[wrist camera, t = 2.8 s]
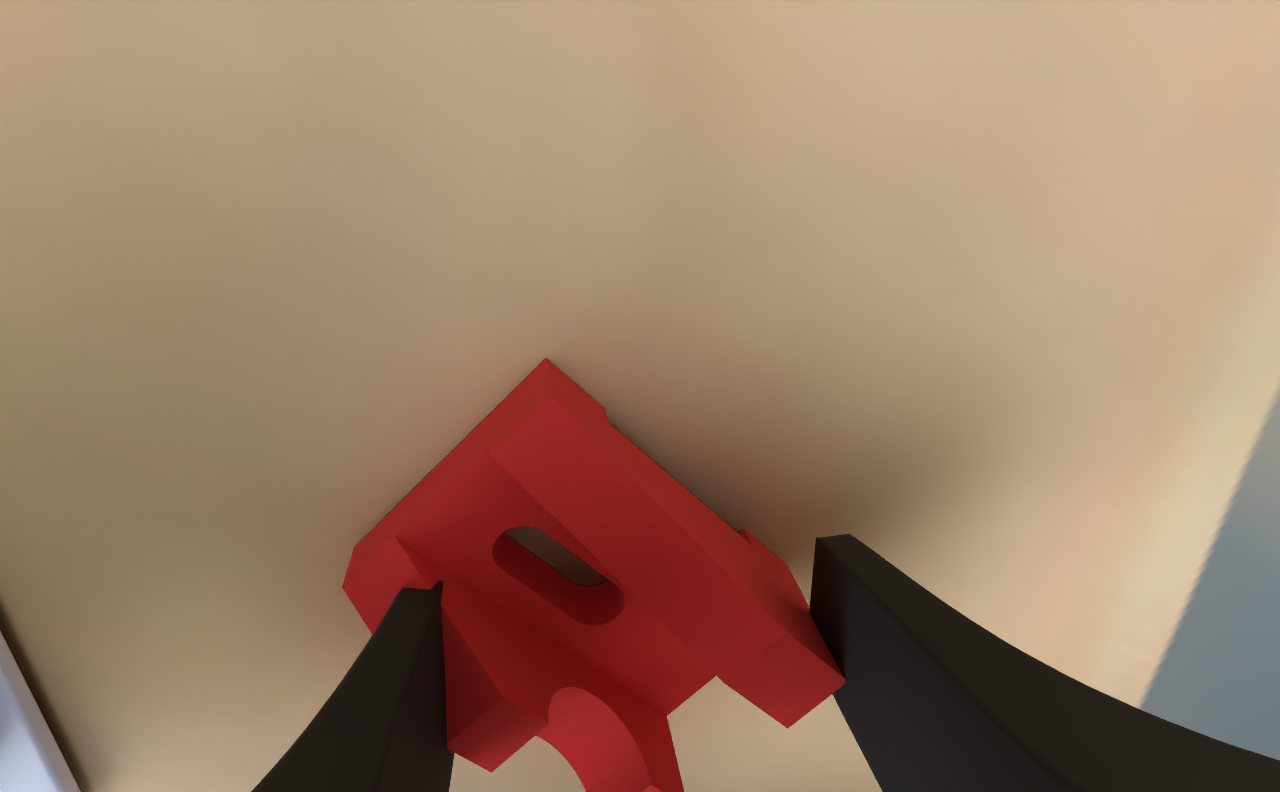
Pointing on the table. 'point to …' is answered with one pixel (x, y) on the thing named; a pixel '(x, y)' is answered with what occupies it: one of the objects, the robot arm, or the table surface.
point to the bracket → (587, 594)
